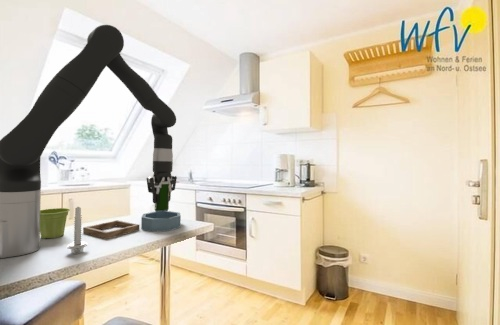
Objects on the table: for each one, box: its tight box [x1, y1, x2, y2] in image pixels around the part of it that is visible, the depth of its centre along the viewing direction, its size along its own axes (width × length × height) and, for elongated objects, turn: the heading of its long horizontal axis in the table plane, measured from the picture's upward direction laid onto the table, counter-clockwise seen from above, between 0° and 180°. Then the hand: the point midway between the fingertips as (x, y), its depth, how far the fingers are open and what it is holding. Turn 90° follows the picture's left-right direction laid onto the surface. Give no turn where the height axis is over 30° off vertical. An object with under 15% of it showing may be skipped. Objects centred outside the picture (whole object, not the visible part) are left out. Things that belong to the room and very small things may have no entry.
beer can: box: [154, 181, 170, 212], centre depth 103 cm, size 5×5×12 cm
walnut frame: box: [82, 220, 140, 240], centre depth 94 cm, size 13×13×2 cm
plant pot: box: [40, 207, 71, 240], centre depth 86 cm, size 9×9×9 cm
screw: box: [66, 206, 89, 255], centre depth 73 cm, size 13×5×5 cm
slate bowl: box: [140, 210, 182, 232], centre depth 103 cm, size 14×14×4 cm
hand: (161, 202), depth 103 cm, fingers closed on beer can, 5 cm apart
